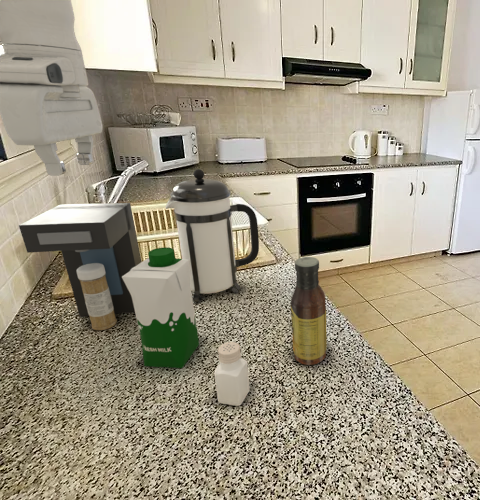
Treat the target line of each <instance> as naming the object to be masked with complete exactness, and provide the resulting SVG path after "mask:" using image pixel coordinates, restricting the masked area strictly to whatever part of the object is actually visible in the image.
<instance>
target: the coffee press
mask: <svg viewBox="0 0 480 500" xmlns="http://www.w3.org/2000/svg"><path fill="white" fill-rule="evenodd" d="M193 177H194V179H193V178H192V179H188V180H183V181H180V182H178V183H177V184H175V185H174V186H173V188H172V191H171V192H170V194H169V196H170V198H168V200H167V201H166V205H165V207H164V208H165V209H166V210H168V209H173V215H174V220H175V223H176V228H177V235H178V241H179V248H180V255H181V259H188V260H189V271H190V285H191V292H193V296H192V299H193V303H198V304H199V303H201V302H202V300H203V298H204V296H205V294H209V295H210V294H216V293H219V292H224V291H226V290H228V289H230V291H232V292H233V293H234V294H235V295H237V294H239V293H240V292H241V291H242V287H241V286H240V285H239V283H238V281H237V279H238V277H237V272H238V268H239V267H243V266H246V265H249V264H251V263H253V262H254V261H255V260H256V259H257V258H258V255H259V253H260V252H259V250H260V240H259V239H260V237H259V225H258V224H259V223H258V219H257V218H258V217H257V215H256V213H255V211H254V210H253V208H252V207H250V206H248V205H247V204H243V203H236V204H231V203H230V202H231V201H230V198H231V196H232V195H231V194H232V193H231V190H230V189H229V188H228V186H227V184H225V183H224V182H222V181H221V180H219V179H213V178H205V172H204V171H203V170H202V169H200V168H198V169H195V170H194V171H193ZM233 212H243V213H245V214H246V215H247V217H248V220H249V221H248V222H249V232H250V243H251V244H250V245H251V249H250V253H249V254H248V255H247V256H245V257H243V258H238V259H236V254H235V243H234V234H233V224H232V223H233V221H232V215H233Z"/></svg>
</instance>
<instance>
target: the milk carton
mask: <svg viewBox="0 0 480 500" xmlns="http://www.w3.org/2000/svg"><path fill="white" fill-rule="evenodd" d="M147 255H148V258H145V259H144V260H143V261H142V262H141V263H140V264H138V265H137V266H135V267H133V268H132V269H131V270H130V271H129V272H128V273H126V274H125V275H124V276H122V279H123V280H124V282H125V284H126V286H127V288H128V290H129V292H130V294H131V296H132V300H133V305H134V309H135V312H134V314H135V317H136V323H137V328H138V331H139V337H140V343H141V350H142V358H143V367H149V368H150V367H153V368H168V369H169V368H172V369H183V368H184V367H185V365H186V364H187V362H189V360H190V358H191V357H192V356H193V354H194V353H195V351H196V350H197V348H198V347H199V346H200V340H199V334H198V333H199V332H198V327H197V320H196V314H195V313H196V312H195V307H194V306H195V305H194V302H193V294H192V292H193V291H191V285H190V271H189V260H188V259H182V258H176V255H175V250H174V248H172V247H167V246H166V247H165V246H164V247H158V248H154V249H151V250H150V251H148V252H147Z"/></svg>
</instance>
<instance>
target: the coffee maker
mask: <svg viewBox="0 0 480 500" xmlns="http://www.w3.org/2000/svg"><path fill="white" fill-rule="evenodd" d="M18 228H19V230H20V234H21V237H22V241H23V243H24V247H25V250H26V253H27V254H28V253H49V252H50V253H51V252H61V255H62V258H63V262H64V265H65V269H66V273H67V276H68V279H69V283H70V287H71V291H72V294H73V297H74V301H75V305H76V309H77V311H78V315H79V318H81V317H90V316H89V314H88V310H87V307H86V303H85V298H84V294H83V290H82V286H81V282H80V280H79V279H78V276H77V271H76V270H77V269H78V268H79V267H81V266H83V265H86V264H91V263H100V264H103V265H104V268H105V272H106V273H105V274H106V275H105V277H106V281H107V284H108V287H109V291H110V295H111V299H112V303H113V308H114V314H115V315H120V314H129V313H130V314H131V313H132V314H133V313H135V309H134V305H133V300H132V296H131V294H130V292H129V290H128V288H127V286H126V284H125V282H124V280H123V279H122V276H124V275H125V274H126V273H128V272H129V271H130V270H131V269H132V268H133V267H135V266H137V265H138V264H140V263H141V262H143V261H142V256H141V251H140V246H139V241H138V240H139V239H138V236H137V231H136V226H135V220H134V216H133V211H132V205H131V202H106V203H105V202H101V203H65V204H62V203H61V204H58V205H56V206H53V207H52V208H50V209H48V210H46V211H45V212H43V213H41V214H39V215H36V216H35V217H33V218H30V219H28V220H27V221H25V222H23V223H20V224H19V225H18Z"/></svg>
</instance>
